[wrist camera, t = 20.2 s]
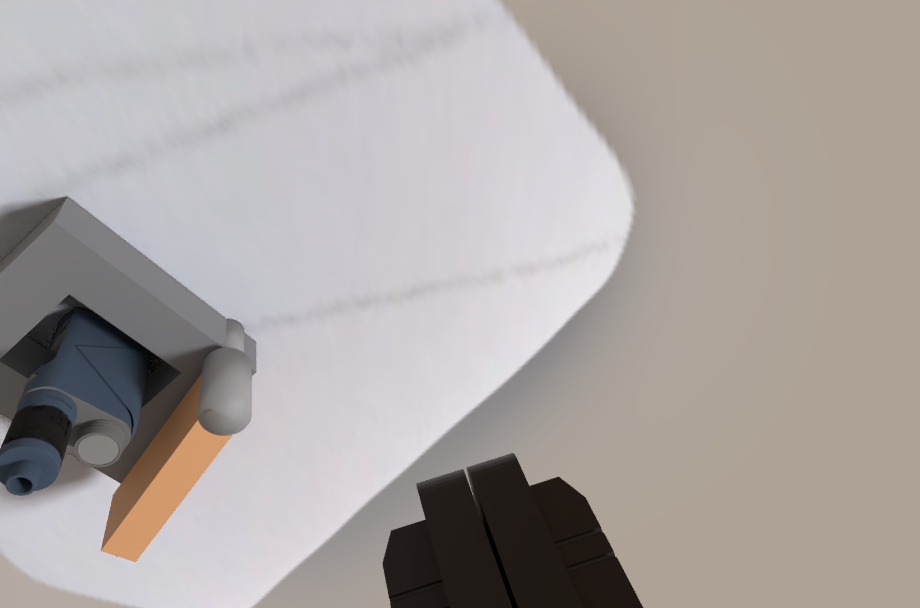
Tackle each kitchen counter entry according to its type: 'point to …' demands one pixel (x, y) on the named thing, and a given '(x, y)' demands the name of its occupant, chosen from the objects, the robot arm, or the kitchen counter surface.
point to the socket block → (107, 315)
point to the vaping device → (76, 403)
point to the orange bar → (180, 452)
